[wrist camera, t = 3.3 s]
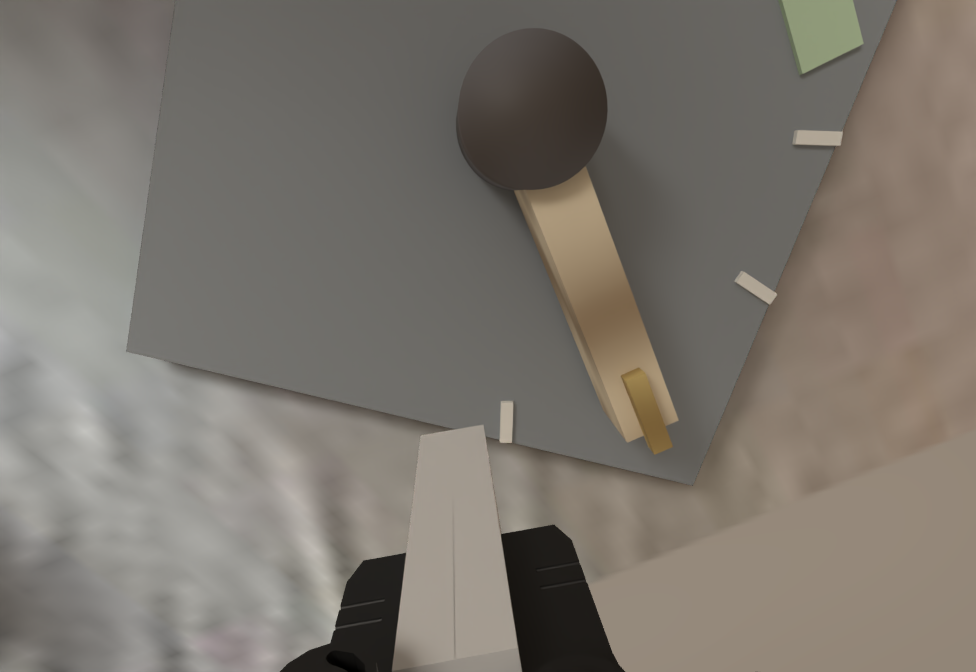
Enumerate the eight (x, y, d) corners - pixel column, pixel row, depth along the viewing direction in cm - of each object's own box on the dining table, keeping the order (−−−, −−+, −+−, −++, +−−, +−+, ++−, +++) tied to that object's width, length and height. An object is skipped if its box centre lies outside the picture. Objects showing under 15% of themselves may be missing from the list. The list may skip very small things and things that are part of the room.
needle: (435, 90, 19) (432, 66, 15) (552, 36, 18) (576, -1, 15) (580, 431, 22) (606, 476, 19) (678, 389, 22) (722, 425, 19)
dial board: (147, 342, 22) (123, 354, 20) (254, -383, 17) (234, -446, 15) (679, 469, 25) (695, 489, 24) (911, -96, 20) (953, -122, 18)
